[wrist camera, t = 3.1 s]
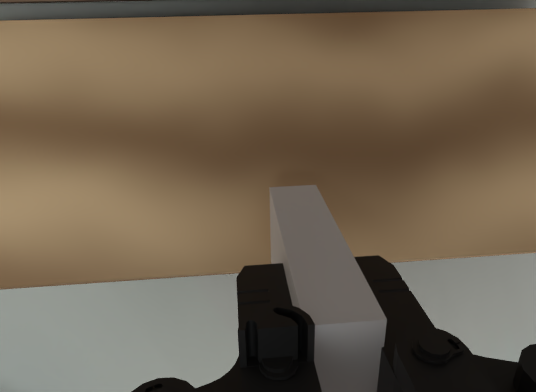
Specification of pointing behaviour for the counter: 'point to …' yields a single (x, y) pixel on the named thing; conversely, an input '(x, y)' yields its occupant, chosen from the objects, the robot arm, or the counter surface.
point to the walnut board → (49, 0)
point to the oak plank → (261, 138)
